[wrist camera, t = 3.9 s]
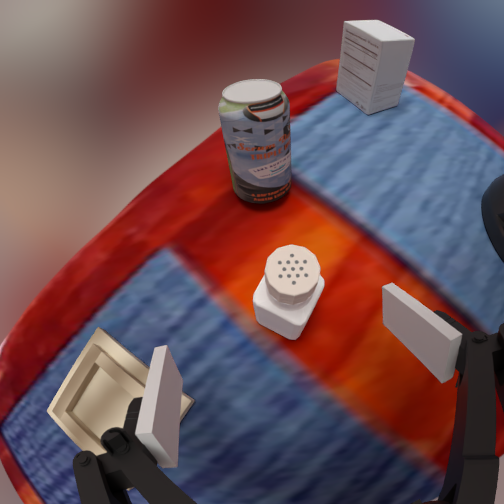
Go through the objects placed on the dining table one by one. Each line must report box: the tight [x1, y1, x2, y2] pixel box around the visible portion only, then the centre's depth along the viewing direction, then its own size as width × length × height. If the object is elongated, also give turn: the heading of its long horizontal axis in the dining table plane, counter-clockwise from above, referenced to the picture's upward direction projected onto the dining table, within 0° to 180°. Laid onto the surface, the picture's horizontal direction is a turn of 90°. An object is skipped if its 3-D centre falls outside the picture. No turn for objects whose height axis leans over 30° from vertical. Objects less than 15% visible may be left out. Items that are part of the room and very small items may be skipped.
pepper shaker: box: [253, 245, 324, 340], centre depth 21 cm, size 4×4×10 cm
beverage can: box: [218, 79, 291, 204], centre depth 26 cm, size 6×7×12 cm
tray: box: [47, 327, 195, 491], centre depth 21 cm, size 11×11×2 cm
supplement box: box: [336, 20, 415, 115], centre depth 33 cm, size 7×7×13 cm
